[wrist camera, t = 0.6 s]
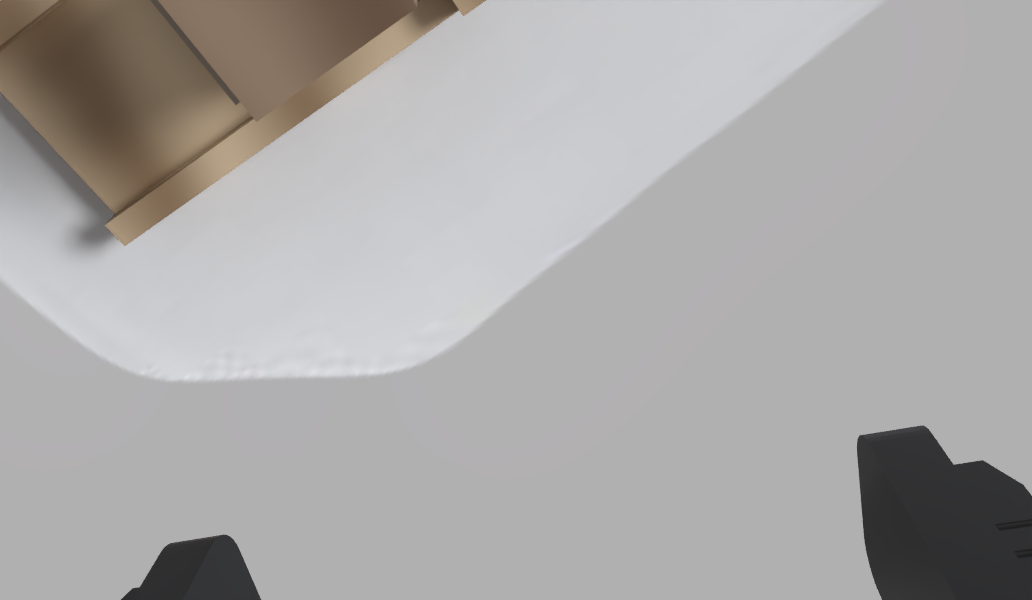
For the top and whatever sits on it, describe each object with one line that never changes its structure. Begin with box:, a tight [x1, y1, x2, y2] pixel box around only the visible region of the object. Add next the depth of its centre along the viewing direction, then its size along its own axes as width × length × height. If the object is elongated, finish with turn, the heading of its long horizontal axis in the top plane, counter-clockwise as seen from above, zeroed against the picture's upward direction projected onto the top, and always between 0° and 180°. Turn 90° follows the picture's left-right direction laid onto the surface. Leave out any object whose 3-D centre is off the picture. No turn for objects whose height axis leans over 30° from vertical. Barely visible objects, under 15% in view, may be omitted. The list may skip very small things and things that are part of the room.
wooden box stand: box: [0, 0, 486, 246], centre depth 27 cm, size 16×8×12 cm, turn 123°
